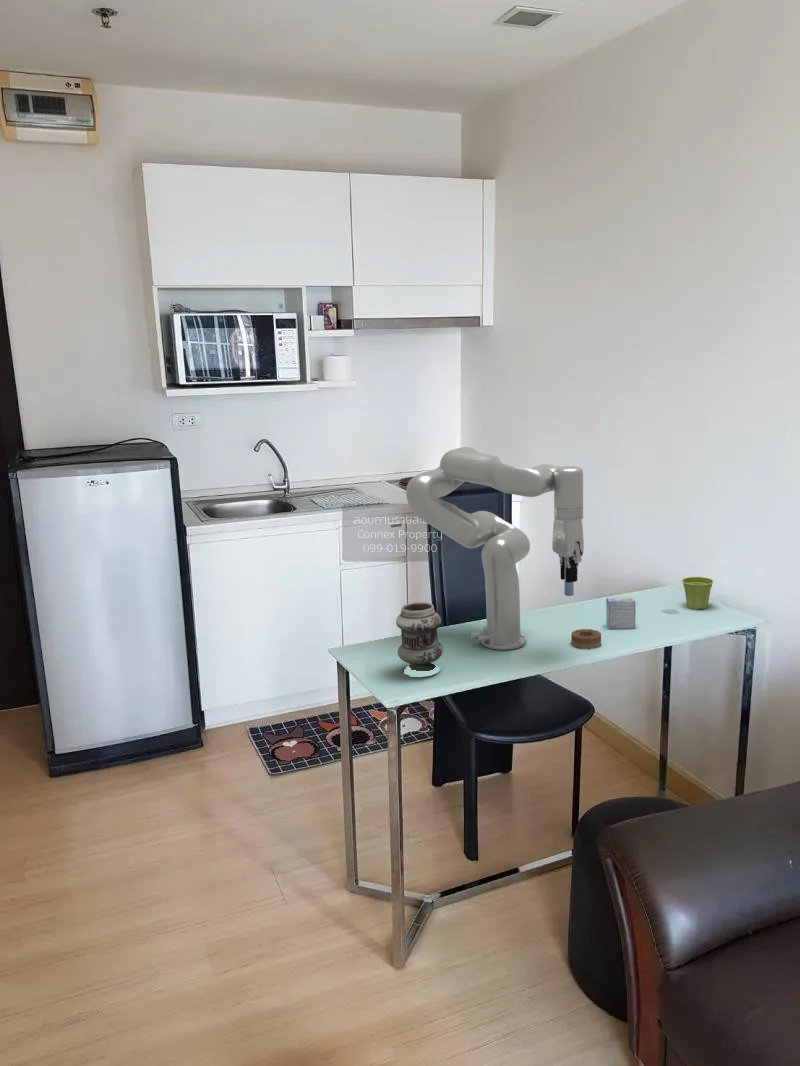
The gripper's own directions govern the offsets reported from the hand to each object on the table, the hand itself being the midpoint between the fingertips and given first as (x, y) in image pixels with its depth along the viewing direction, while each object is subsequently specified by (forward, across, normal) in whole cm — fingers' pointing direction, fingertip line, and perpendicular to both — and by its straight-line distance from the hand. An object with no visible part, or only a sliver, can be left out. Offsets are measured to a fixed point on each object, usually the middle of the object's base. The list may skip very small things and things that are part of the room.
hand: (568, 579), depth 219 cm
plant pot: (+21, -22, +54) cm, 62 cm away
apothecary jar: (+21, -2, -42) cm, 47 cm away
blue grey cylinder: (+4, 0, 0) cm, 4 cm away
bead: (+21, -4, +7) cm, 22 cm away
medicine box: (+21, -14, +23) cm, 34 cm away
